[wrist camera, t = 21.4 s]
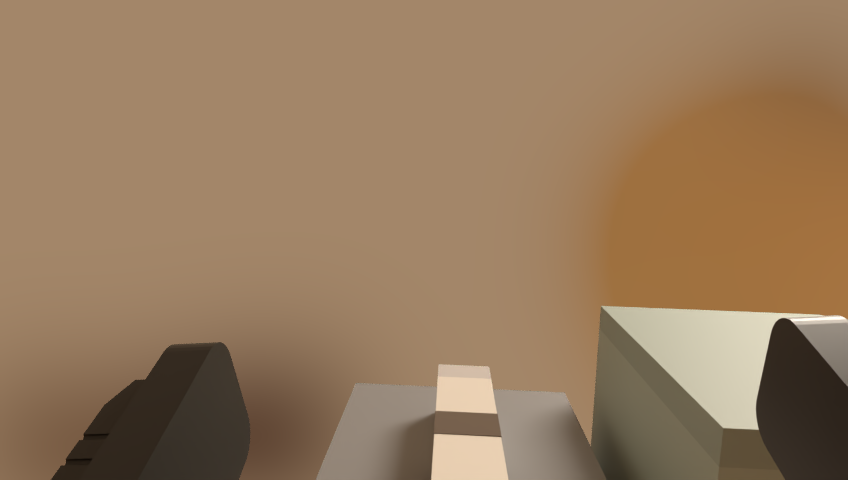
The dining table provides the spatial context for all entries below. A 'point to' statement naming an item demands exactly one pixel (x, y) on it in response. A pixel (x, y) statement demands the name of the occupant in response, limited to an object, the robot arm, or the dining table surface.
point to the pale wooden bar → (466, 426)
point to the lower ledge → (414, 435)
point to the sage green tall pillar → (681, 394)
